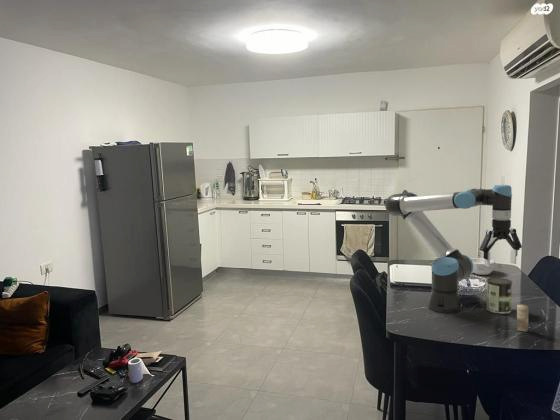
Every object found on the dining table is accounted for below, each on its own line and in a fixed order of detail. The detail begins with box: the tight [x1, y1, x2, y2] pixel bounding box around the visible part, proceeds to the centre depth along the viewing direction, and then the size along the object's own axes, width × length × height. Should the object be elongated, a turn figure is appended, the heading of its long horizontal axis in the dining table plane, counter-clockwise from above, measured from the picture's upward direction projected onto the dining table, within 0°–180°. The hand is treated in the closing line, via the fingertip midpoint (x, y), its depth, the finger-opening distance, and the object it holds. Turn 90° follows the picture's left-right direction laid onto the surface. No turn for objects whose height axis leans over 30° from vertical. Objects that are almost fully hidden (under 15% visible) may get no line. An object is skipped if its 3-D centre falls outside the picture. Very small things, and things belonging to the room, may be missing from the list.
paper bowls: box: [470, 257, 496, 276], centre depth 251 cm, size 15×15×8 cm
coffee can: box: [486, 277, 513, 315], centre depth 191 cm, size 10×10×14 cm
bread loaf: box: [516, 304, 529, 333], centre depth 169 cm, size 4×4×10 cm
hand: (500, 264), depth 189 cm, fingers open, 13 cm apart
